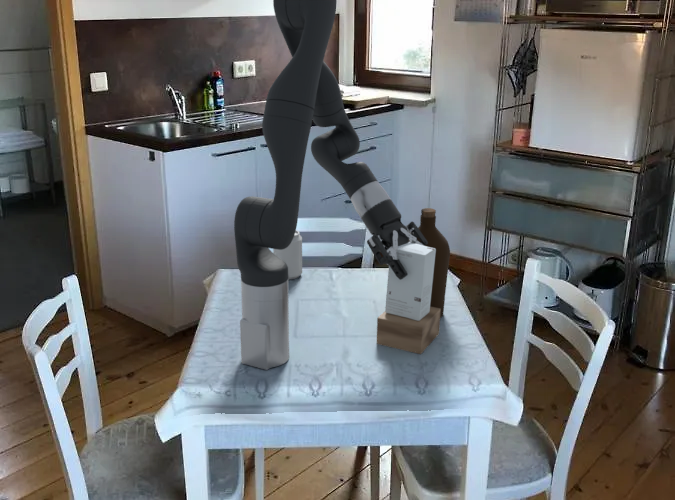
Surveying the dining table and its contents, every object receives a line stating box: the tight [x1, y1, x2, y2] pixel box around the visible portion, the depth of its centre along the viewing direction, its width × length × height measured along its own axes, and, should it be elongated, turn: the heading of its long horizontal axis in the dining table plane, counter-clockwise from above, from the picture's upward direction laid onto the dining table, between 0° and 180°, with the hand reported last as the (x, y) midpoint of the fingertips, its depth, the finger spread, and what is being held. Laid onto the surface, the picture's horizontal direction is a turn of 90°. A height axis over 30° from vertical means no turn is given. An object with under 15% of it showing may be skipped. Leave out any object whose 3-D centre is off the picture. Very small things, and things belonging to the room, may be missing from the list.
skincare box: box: [384, 242, 436, 321], centre depth 154 cm, size 8×6×15 cm
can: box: [272, 229, 303, 280], centre depth 191 cm, size 8×8×12 cm
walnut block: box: [376, 306, 441, 355], centre depth 157 cm, size 11×10×6 cm
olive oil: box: [408, 207, 451, 319], centre depth 166 cm, size 11×11×25 cm
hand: (416, 272), depth 152 cm, fingers open, 8 cm apart
